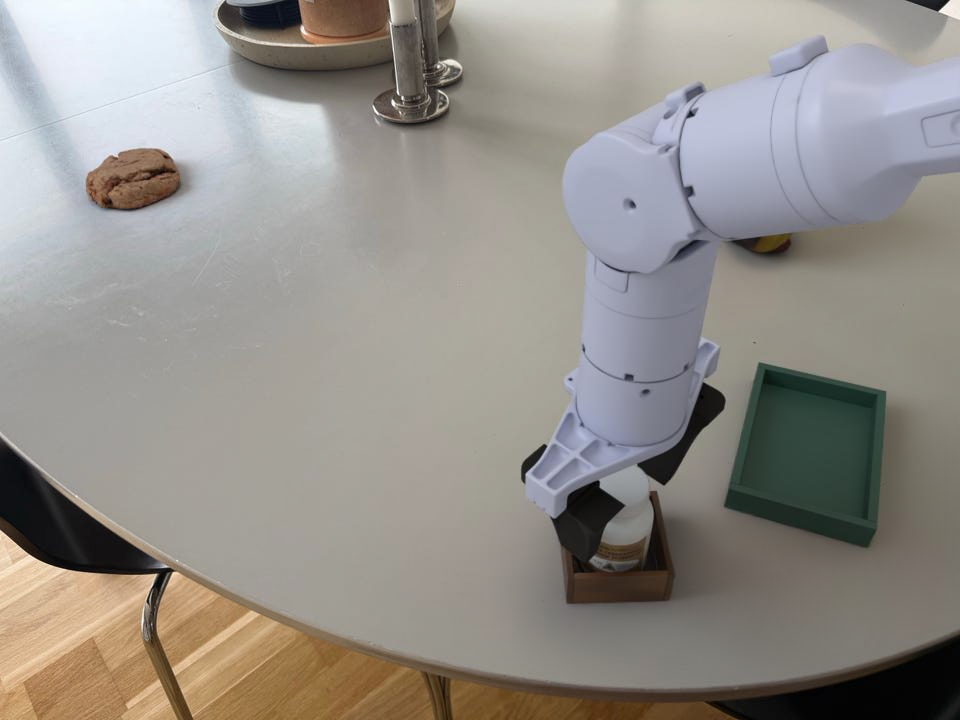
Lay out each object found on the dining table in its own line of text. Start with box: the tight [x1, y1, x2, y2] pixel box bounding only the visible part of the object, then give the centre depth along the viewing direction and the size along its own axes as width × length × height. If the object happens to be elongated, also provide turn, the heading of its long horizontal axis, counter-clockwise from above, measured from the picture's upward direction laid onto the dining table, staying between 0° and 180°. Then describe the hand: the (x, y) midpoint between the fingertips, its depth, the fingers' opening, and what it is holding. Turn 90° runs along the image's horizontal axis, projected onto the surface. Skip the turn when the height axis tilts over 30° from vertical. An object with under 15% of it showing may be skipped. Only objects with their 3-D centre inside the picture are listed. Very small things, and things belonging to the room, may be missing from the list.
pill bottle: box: [577, 464, 654, 573], centre depth 50 cm, size 4×4×8 cm
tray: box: [723, 361, 887, 548], centre depth 58 cm, size 13×9×2 cm
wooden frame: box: [559, 490, 676, 604], centre depth 52 cm, size 6×6×3 cm
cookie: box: [85, 147, 181, 210], centre depth 89 cm, size 10×11×3 cm
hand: (616, 510), depth 49 cm, fingers open, 7 cm apart
